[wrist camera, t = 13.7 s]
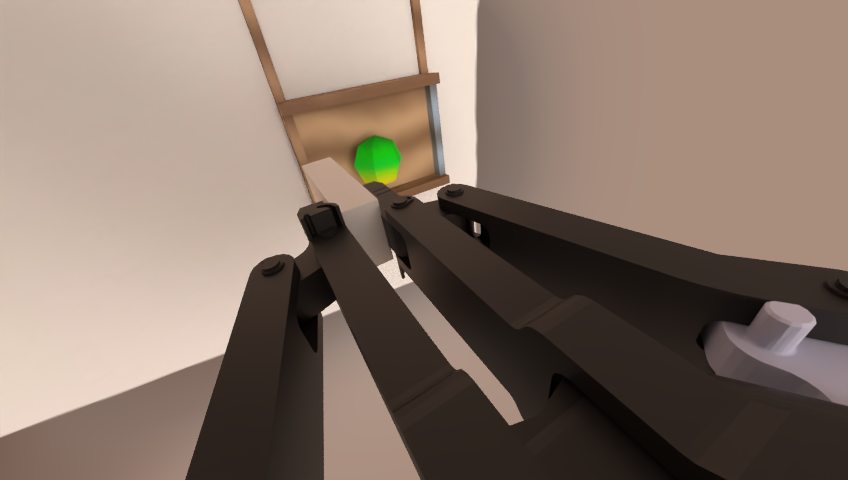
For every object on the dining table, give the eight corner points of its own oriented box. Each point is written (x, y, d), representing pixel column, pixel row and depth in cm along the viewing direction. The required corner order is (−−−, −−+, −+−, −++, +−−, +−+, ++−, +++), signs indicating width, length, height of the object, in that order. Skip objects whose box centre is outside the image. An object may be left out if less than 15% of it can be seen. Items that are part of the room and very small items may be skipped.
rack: (215, -63, 28) (212, -79, 25) (409, -67, 34) (424, -79, 32) (318, 217, 43) (323, 226, 40) (438, 177, 50) (449, 182, 47)
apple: (386, 140, 35) (397, 212, 39) (407, 129, 40) (415, 193, 44) (334, 141, 37) (350, 208, 42) (360, 130, 42) (372, 191, 47)
